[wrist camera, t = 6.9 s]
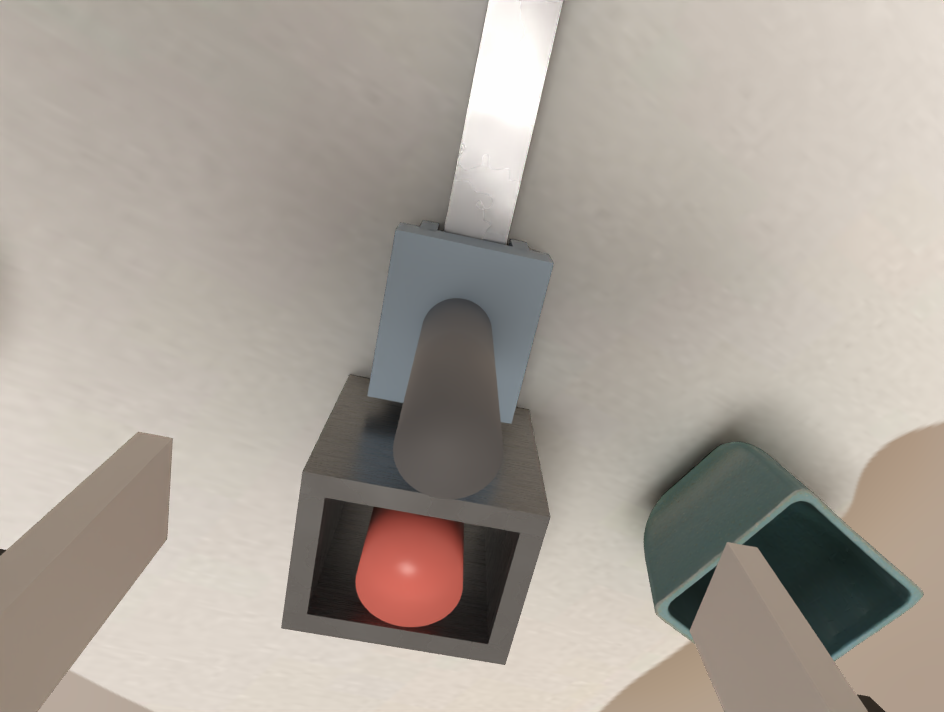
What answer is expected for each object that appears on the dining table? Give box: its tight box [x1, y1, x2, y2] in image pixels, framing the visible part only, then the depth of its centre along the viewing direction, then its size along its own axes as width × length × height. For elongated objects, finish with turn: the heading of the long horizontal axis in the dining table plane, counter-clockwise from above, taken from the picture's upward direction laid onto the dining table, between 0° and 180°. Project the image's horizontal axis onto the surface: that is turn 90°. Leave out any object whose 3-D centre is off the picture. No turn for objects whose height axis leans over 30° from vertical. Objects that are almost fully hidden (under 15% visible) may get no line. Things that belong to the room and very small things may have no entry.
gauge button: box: [355, 507, 464, 627], centre depth 28 cm, size 4×4×5 cm
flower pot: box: [644, 442, 924, 661], centre depth 32 cm, size 9×9×9 cm
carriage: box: [368, 220, 554, 499], centre depth 25 cm, size 8×7×15 cm
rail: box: [444, 0, 563, 245], centre depth 28 cm, size 22×5×4 cm, turn 168°
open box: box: [281, 375, 550, 665], centre depth 31 cm, size 8×10×10 cm
